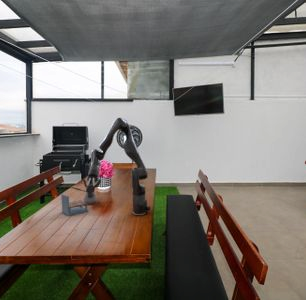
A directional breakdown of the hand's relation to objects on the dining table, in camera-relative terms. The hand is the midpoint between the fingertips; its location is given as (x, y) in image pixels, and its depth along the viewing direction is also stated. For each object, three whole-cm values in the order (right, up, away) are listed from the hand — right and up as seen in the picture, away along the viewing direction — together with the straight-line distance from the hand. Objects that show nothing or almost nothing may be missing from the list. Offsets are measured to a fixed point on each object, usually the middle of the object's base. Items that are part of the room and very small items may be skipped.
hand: (89, 191), depth 183 cm
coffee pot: (-10, -14, +26) cm, 31 cm away
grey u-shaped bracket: (-12, -16, +7) cm, 21 cm away
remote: (0, -4, +2) cm, 5 cm away
